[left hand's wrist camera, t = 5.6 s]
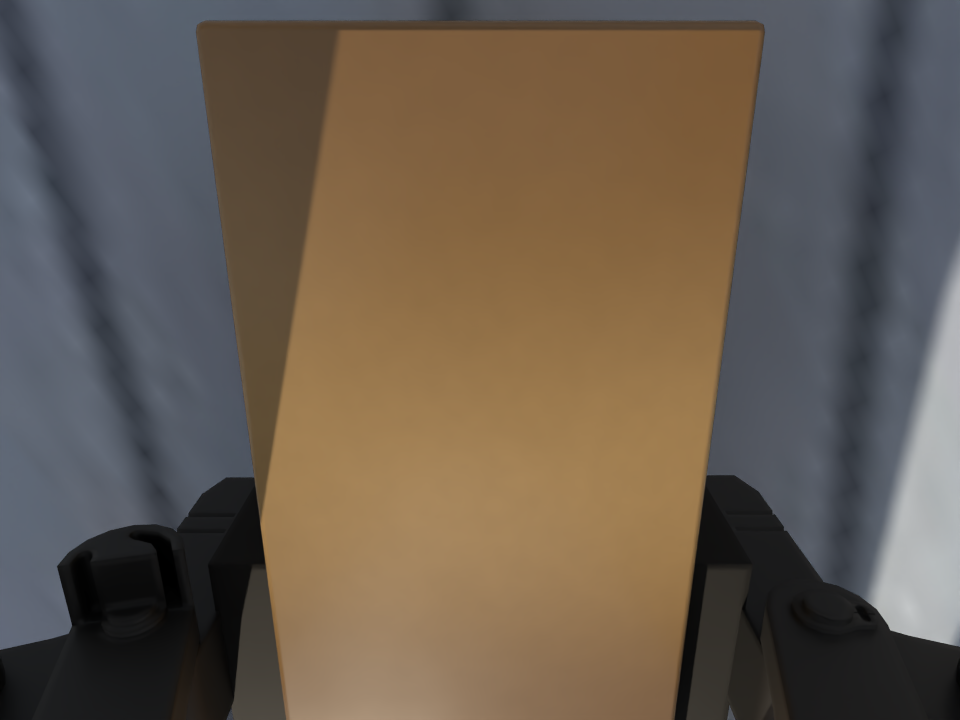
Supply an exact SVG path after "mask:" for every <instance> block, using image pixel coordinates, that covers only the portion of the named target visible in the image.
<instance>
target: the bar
mask: <svg viewBox="0 0 960 720" xmlns="http://www.w3.org/2000/svg"><path fill="white" fill-rule="evenodd" d="M764 35H765V30H764V25H763V24H762V23H759V22H757V21H203V22H201V23H199V24H198V25H197V30H196V36H197V44H198V51H199V59H200V67H201V74H202V82H203V90H204V97H205V105H206V112H207V120H208V128H209V135H210V143H211V151H212V158H213V166H214V174H215V181H216V189H217V196H218V204H219V212H220V219H221V227H222V235H223V242H224V250H225V257H226V265H227V273H228V280H229V288H230V296H231V303H232V311H233V318H234V326H235V334H236V341H237V349H238V357H239V364H240V372H241V379H242V387H243V395H244V402H245V410H246V418H247V425H248V433H249V441H250V448H251V456H252V463H253V471H254V479H255V486H256V494H257V502H258V509H259V517H260V524H261V532H262V540H263V547H264V555H265V563H266V570H267V578H268V585H269V593H270V601H271V608H272V616H273V624H274V631H275V639H276V647H277V654H278V662H279V669H280V677H281V685H282V692H283V700H284V708H285V715H286V720H674V718H675V711H676V703H677V696H678V688H679V681H680V673H681V665H682V658H683V650H684V643H685V635H686V627H687V620H688V612H689V605H690V597H691V589H692V582H693V574H694V567H695V559H696V551H697V544H698V536H699V529H700V521H701V514H702V506H703V498H704V491H705V483H706V476H707V468H708V460H709V453H710V445H711V438H712V430H713V422H714V415H715V407H716V400H717V392H718V384H719V377H720V369H721V362H722V354H723V347H724V339H725V331H726V324H727V316H728V309H729V301H730V293H731V286H732V278H733V271H734V263H735V255H736V248H737V240H738V233H739V225H740V217H741V210H742V202H743V195H744V187H745V179H746V172H747V164H748V157H749V149H750V142H751V134H752V126H753V119H754V111H755V104H756V96H757V88H758V81H759V73H760V66H761V58H762V50H763V43H764Z"/></svg>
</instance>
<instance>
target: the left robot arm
mask: <svg viewBox="0 0 960 720" xmlns="http://www.w3.org/2000/svg"><path fill="white" fill-rule="evenodd" d="M57 568H58V572H59V576H60V580H61V584H62V587H63V591H64V595H65V599H66V603H67V607H68V611H69V614H70V618H71V622H72V628H71V630H70V632H69V634H67V635H63V636H60V637H56V638H53V639H48V640H44V641H39V642H34V643H30V644H25V645H21V646H16V647H12V648H7V649H3V650H0V720H226V719H227V716H228V714H229V712H230V709H231V707H232V713H233V719H234V720H286V715H285V708H284V700H283V692H282V685H281V677H280V669H279V662H278V654H277V647H276V639H275V631H274V624H273V616H272V608H271V601H270V593H269V585H268V578H267V570H266V563H265V555H264V547H263V540H262V532H261V524H260V517H259V509H258V502H257V494H256V486H255V479H254V478H225V479H224V480H222V481H221V482H219V483H218V484H216V485H215V486H213V487H212V488H210V489H209V490H207V491H206V492H204V493H203V494H202V495H201V497H200V498H199V499H198V501H197V502H196V504H195V505H194V506H193V508H192V509H191V511H190V512H189V516H188V517H186V518H185V519H184V520H183V522H182V523H181V524H180V526H179V527H178V529H177V532H176V531H175V530H173V529H172V528H168V527H164V526H159V525H132V526H128V527H123V528H119V529H114V530H110V531H108V532H105V533H103V534H101V535H98V536H96V537H93V538H91V539H88V540H87V541H85V542H84V543H82V544H81V545H79V546H78V547H76V548H75V549H73V550H72V551H70V552H69V553H68V554H67V555H66V556H65V558H64V559H63V560H62V561H61V562H60V564H59V565H58V566H57ZM729 705H730V707H731V709H732V712H733V714H734V717H735V719H736V720H960V647H958V646H953V645H949V644H944V643H940V642H935V641H930V640H926V639H921V638H917V637H912V636H908V635H904V634H901V633H897V632H894V631H890V629H889V627H888V625H887V623H886V622H885V620H884V619H883V618H882V616H881V615H880V613H879V612H878V611H877V609H875V608H874V607H873V606H871V605H870V604H869V603H868V602H866V601H865V600H864V599H862V598H861V597H860V596H858V595H856V594H854V593H852V592H850V591H847V590H845V589H843V588H841V587H839V586H837V585H833V584H829V583H825V582H823V581H822V579H821V578H820V576H819V575H818V574H817V572H816V571H815V569H814V568H813V567H812V565H811V564H810V563H809V561H808V560H807V558H806V557H805V556H804V554H803V553H802V551H801V550H800V549H799V547H798V546H797V545H796V543H795V542H794V540H793V539H792V538H791V536H790V535H789V533H788V532H787V531H784V526H783V525H782V524H781V522H780V521H779V520H778V518H777V517H776V515H773V514H772V510H771V508H770V507H769V506H768V504H767V503H766V502H765V500H764V499H763V497H762V496H761V495H760V493H759V492H758V491H757V490H755V489H754V488H752V487H751V486H749V485H748V484H746V483H745V482H743V481H742V480H740V479H739V478H737V477H736V476H734V475H707V476H706V483H705V491H704V498H703V506H702V514H701V521H700V529H699V536H698V544H697V551H696V559H695V567H694V574H693V582H692V589H691V597H690V605H689V612H688V620H687V627H686V635H685V643H684V650H683V658H682V665H681V673H680V681H679V688H678V696H677V703H676V711H675V718H674V720H727V716H728V710H729Z"/></svg>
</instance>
